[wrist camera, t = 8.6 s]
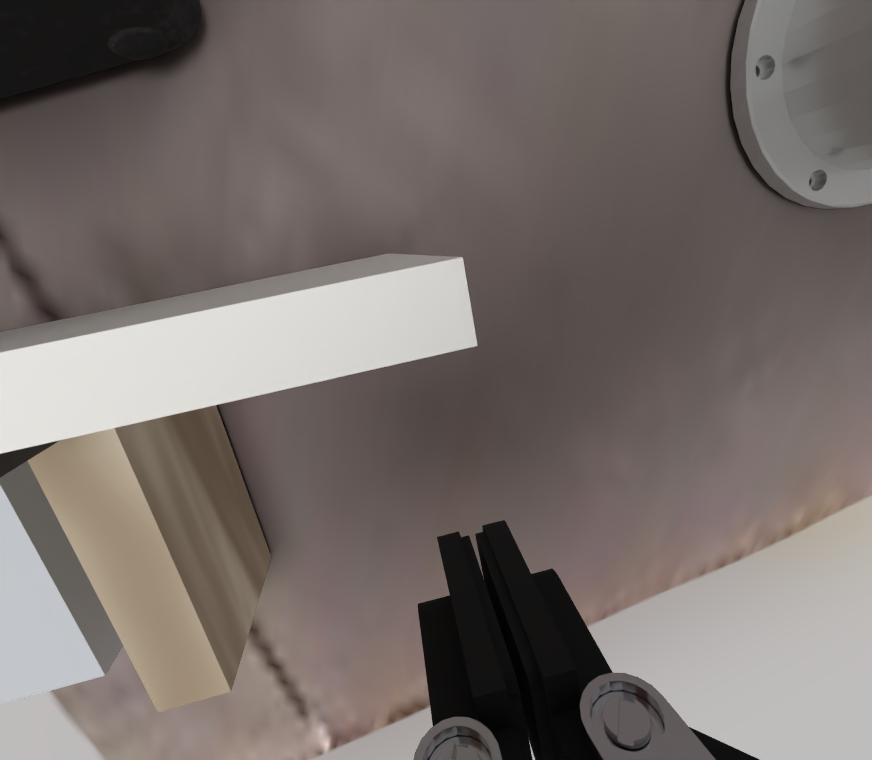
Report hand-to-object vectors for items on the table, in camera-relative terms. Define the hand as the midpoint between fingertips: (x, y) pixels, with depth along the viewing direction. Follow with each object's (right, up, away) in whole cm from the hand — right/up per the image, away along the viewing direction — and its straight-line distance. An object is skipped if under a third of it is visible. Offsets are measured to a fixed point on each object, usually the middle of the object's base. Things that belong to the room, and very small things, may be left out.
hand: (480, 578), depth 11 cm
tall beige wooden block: (-11, +1, +10) cm, 15 cm away
